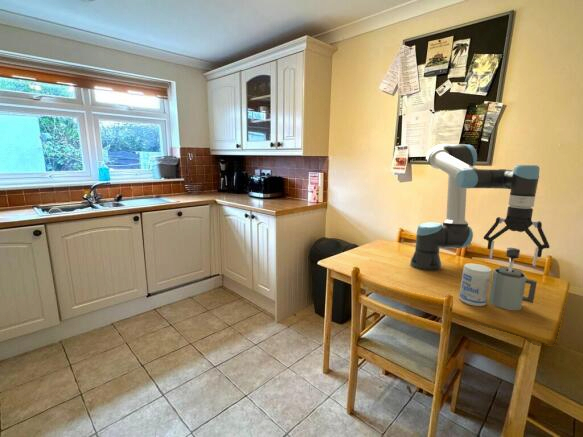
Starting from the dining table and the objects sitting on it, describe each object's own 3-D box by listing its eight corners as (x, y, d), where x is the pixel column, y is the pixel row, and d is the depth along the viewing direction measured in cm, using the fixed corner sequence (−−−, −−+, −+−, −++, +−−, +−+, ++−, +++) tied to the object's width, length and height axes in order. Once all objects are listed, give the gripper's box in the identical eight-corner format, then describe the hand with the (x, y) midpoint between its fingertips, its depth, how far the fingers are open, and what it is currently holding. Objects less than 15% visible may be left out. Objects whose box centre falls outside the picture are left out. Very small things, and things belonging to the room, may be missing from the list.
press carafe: (487, 304, 117) (493, 271, 115) (490, 295, 126) (494, 264, 123) (531, 315, 109) (538, 280, 107) (531, 305, 117) (537, 271, 115)
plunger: (493, 299, 117) (501, 249, 113) (494, 292, 123) (502, 245, 119) (517, 304, 113) (526, 253, 109) (517, 297, 119) (525, 248, 115)
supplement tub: (456, 301, 120) (461, 267, 117) (461, 294, 127) (465, 261, 124) (484, 309, 113) (490, 273, 111) (488, 301, 121) (493, 266, 118)
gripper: (480, 204, 115) (473, 256, 119) (566, 212, 100) (554, 271, 105) (482, 202, 121) (475, 252, 125) (564, 209, 106) (553, 265, 110)
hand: (511, 261), depth 115 cm, fingers open, 13 cm apart
